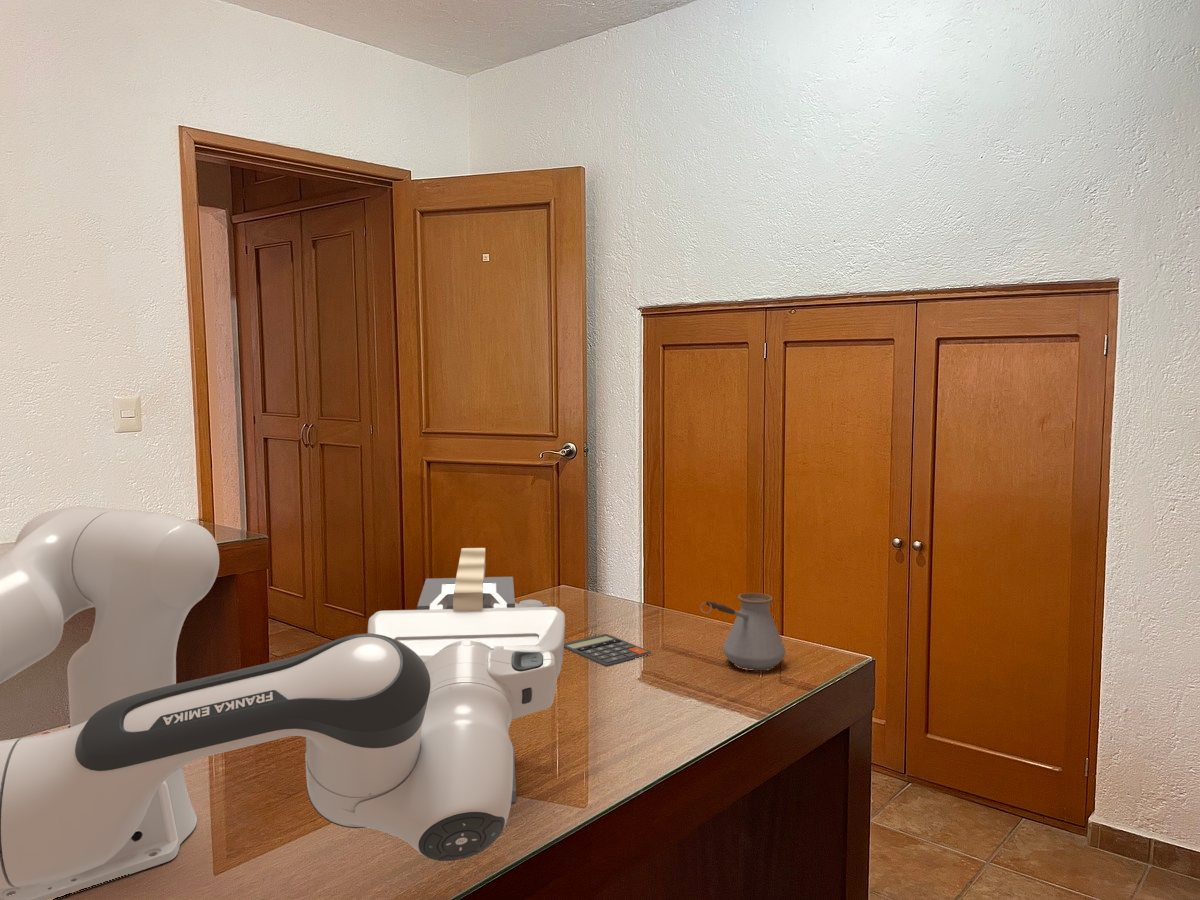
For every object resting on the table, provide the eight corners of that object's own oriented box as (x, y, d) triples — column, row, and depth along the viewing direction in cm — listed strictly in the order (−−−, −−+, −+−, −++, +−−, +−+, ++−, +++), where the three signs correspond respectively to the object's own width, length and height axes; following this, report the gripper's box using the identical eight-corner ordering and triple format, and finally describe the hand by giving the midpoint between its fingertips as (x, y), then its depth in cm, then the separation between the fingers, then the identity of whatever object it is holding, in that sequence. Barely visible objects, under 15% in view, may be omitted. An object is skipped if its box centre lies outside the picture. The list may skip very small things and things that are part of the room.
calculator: (606, 664, 165) (559, 643, 176) (606, 669, 165) (559, 648, 176) (653, 651, 172) (606, 632, 183) (653, 656, 172) (606, 637, 184)
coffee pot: (745, 650, 174) (747, 575, 173) (797, 664, 166) (799, 585, 165) (677, 678, 159) (678, 595, 157) (730, 695, 151) (732, 608, 149)
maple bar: (482, 615, 93) (482, 592, 92) (453, 616, 92) (453, 592, 92) (485, 567, 114) (485, 547, 114) (461, 567, 114) (461, 548, 114)
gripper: (359, 713, 87) (374, 610, 98) (568, 705, 89) (560, 605, 101) (353, 670, 83) (369, 568, 95) (571, 663, 86) (562, 564, 97)
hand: (469, 587), depth 98 cm, fingers closed on maple bar, 3 cm apart
